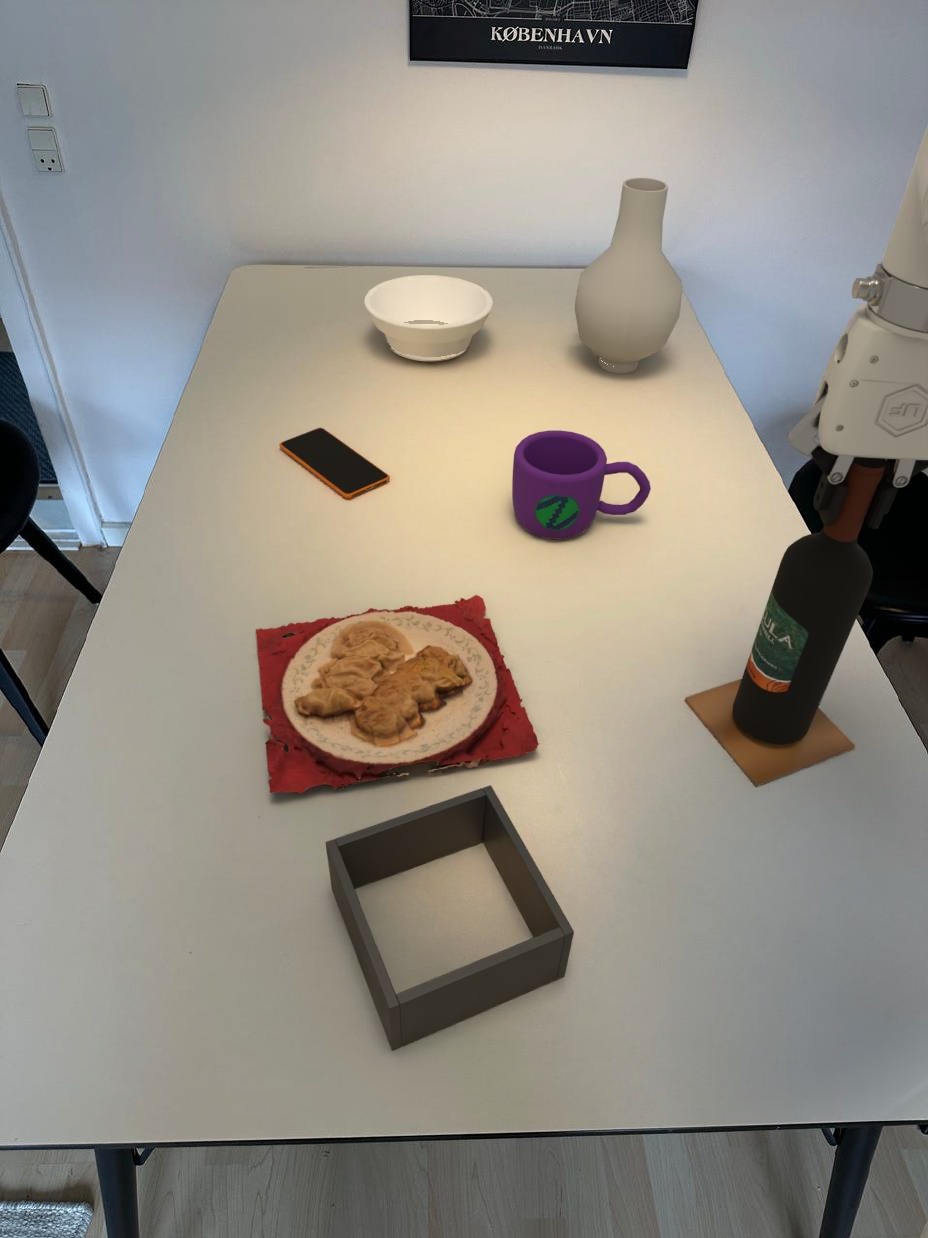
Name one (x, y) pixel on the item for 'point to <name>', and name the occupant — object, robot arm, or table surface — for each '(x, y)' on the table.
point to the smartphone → (334, 462)
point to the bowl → (428, 313)
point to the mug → (565, 483)
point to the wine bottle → (808, 619)
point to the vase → (630, 284)
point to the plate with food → (387, 695)
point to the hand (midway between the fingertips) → (846, 515)
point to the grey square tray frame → (477, 982)
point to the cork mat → (758, 755)
